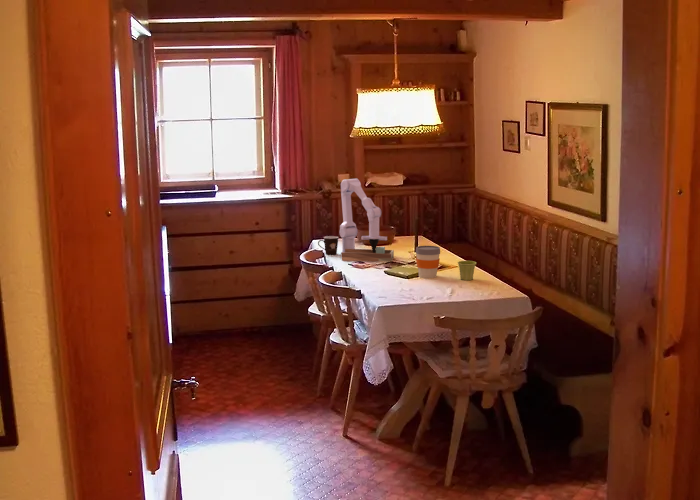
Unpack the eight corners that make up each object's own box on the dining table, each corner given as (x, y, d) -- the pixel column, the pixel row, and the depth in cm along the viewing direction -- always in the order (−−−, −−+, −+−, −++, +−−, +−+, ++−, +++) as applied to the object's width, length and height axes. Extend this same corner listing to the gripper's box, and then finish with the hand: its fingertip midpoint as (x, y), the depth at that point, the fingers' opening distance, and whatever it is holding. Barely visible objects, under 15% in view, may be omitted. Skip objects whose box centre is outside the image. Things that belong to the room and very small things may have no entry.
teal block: (377, 254, 489) (377, 246, 488) (384, 254, 488) (384, 246, 487) (375, 255, 484) (375, 247, 484) (383, 256, 484) (383, 248, 483)
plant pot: (477, 281, 427) (478, 264, 426) (459, 281, 426) (459, 264, 425) (473, 277, 436) (474, 260, 435) (455, 277, 436) (455, 260, 434)
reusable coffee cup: (443, 278, 434) (444, 249, 432) (420, 279, 431) (421, 250, 428) (434, 273, 446) (434, 245, 443) (411, 274, 443) (412, 246, 440)
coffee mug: (339, 252, 504) (339, 236, 503) (337, 255, 496) (337, 238, 494) (319, 252, 506) (319, 235, 504) (317, 255, 497) (317, 238, 495)
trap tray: (345, 256, 494) (345, 248, 493) (393, 257, 489) (393, 250, 488) (341, 260, 481) (341, 252, 480) (391, 261, 477) (391, 254, 476)
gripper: (360, 229, 481) (360, 253, 484) (385, 230, 479) (385, 254, 481) (362, 227, 488) (362, 251, 491) (387, 228, 486) (387, 251, 488)
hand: (374, 252), depth 487 cm, fingers closed
